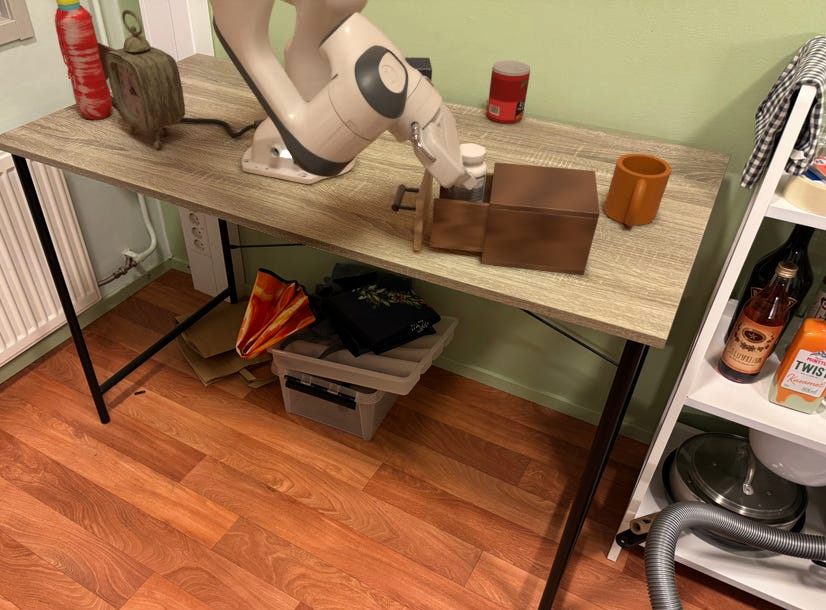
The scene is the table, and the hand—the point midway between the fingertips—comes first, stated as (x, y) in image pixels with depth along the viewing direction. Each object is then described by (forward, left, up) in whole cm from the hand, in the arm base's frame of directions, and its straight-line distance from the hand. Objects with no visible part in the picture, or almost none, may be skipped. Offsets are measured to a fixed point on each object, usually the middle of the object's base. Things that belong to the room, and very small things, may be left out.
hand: (471, 174), depth 106 cm
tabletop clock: (-68, +28, -12) cm, 74 cm away
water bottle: (-86, +38, -12) cm, 95 cm away
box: (-16, +53, -12) cm, 57 cm away
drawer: (-3, 0, -11) cm, 11 cm away
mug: (+27, +13, -12) cm, 32 cm away
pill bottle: (-1, 0, -6) cm, 6 cm away
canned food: (+4, +53, -12) cm, 55 cm away
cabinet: (+11, 0, -12) cm, 16 cm away
